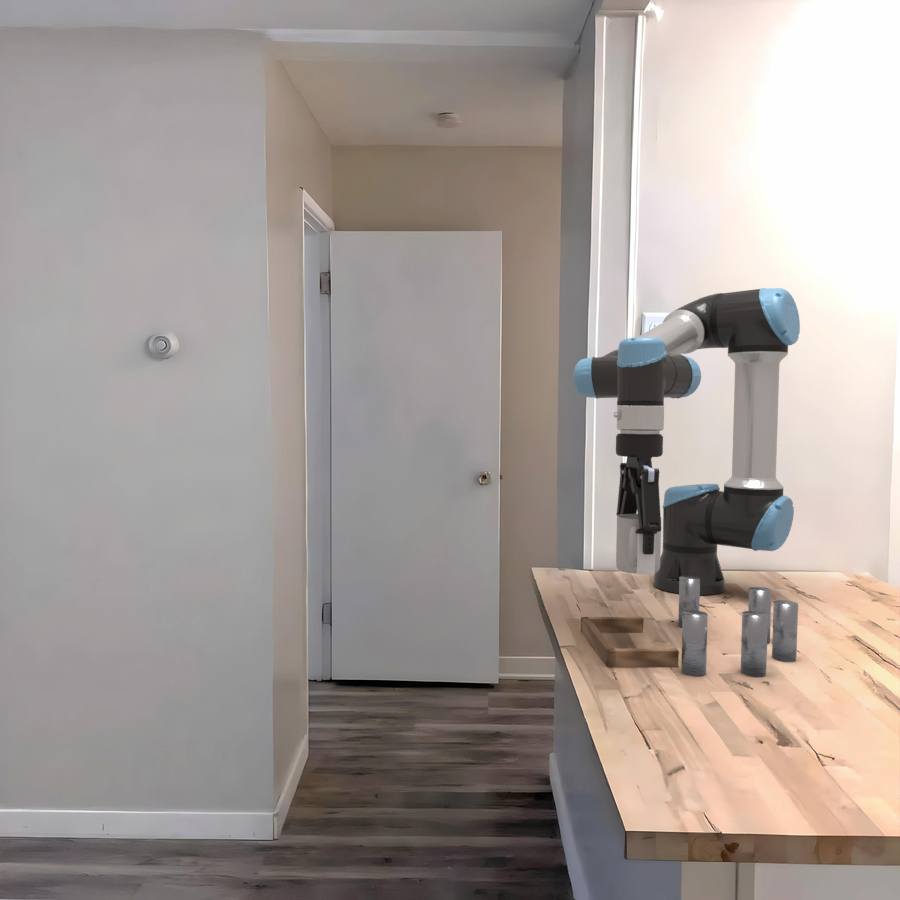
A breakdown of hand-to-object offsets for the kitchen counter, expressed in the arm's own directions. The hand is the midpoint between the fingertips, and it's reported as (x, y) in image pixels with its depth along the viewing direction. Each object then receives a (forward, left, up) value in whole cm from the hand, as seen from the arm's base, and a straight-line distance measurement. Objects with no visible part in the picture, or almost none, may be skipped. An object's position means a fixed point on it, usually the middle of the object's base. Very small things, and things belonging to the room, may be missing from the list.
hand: (636, 567), depth 125 cm
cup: (0, 0, -1) cm, 1 cm away
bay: (+1, 0, -14) cm, 14 cm away
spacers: (-14, 0, -14) cm, 19 cm away
